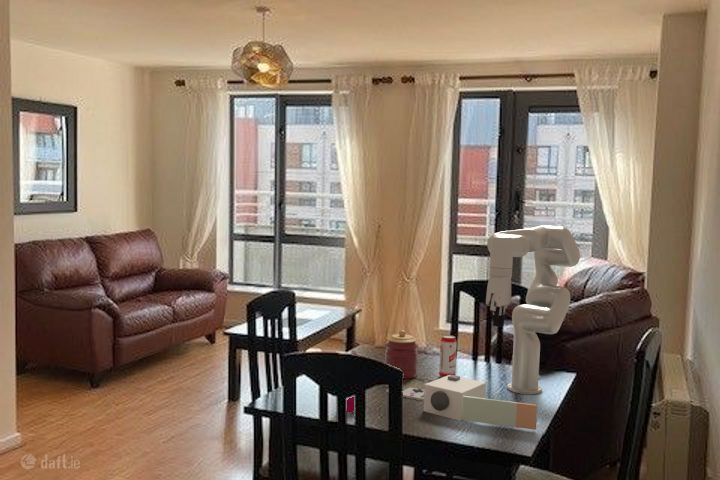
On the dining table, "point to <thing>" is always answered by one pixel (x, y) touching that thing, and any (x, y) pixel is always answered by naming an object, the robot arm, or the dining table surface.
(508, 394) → the dining table surface
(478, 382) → the block
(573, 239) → the robot arm
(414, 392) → the handheld gaming console
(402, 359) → the canister
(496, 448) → the dining table surface
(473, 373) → the dining table surface
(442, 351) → the beer can
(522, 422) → the side door
